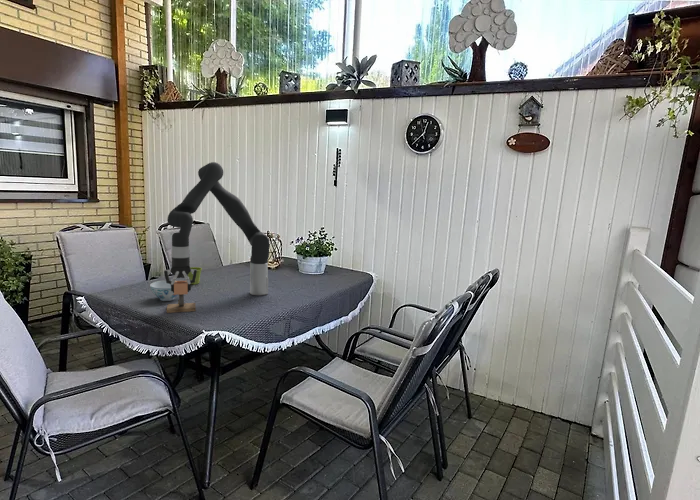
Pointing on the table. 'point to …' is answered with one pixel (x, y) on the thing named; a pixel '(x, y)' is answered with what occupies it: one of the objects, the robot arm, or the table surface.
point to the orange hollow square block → (180, 287)
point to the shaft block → (181, 306)
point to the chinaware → (162, 290)
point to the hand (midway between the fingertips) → (181, 291)
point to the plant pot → (196, 275)
